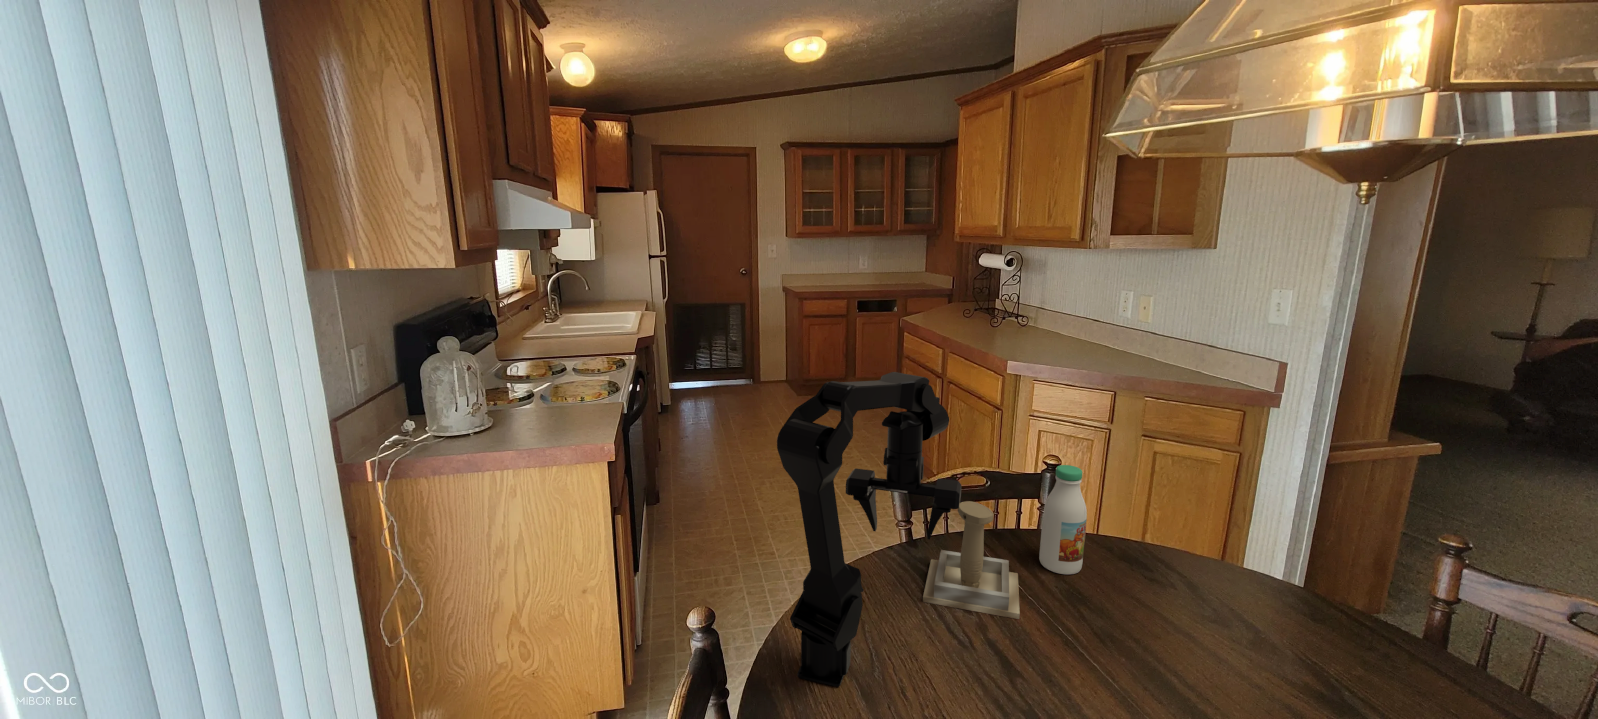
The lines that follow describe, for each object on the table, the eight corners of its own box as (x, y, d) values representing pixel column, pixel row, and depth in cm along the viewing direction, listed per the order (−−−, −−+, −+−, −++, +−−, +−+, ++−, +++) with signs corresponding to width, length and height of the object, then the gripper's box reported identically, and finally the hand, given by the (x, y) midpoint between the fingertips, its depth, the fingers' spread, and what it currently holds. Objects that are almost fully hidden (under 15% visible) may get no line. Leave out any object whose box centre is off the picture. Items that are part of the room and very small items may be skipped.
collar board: (922, 601, 107) (923, 583, 107) (931, 563, 120) (931, 547, 119) (1019, 619, 103) (1020, 600, 102) (1017, 578, 115) (1018, 561, 114)
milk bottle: (1040, 572, 117) (1049, 474, 113) (1037, 552, 124) (1045, 459, 120) (1084, 578, 115) (1095, 478, 110) (1078, 557, 122) (1088, 463, 118)
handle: (972, 598, 107) (978, 520, 103) (947, 579, 112) (952, 504, 109) (992, 591, 109) (999, 514, 105) (967, 572, 114) (973, 499, 111)
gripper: (965, 438, 106) (960, 521, 109) (860, 427, 112) (858, 506, 115) (961, 461, 96) (956, 551, 99) (845, 448, 101) (844, 534, 105)
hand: (901, 534), depth 105 cm, fingers open, 9 cm apart
